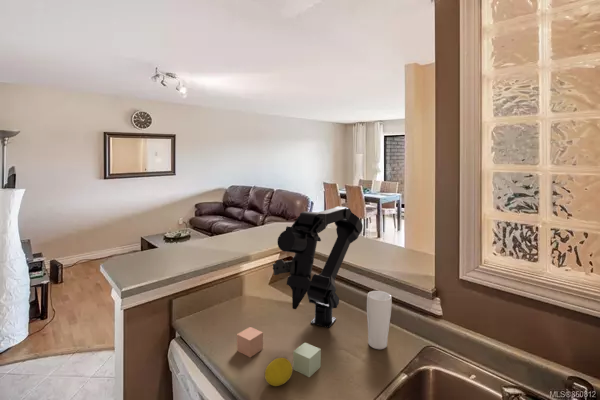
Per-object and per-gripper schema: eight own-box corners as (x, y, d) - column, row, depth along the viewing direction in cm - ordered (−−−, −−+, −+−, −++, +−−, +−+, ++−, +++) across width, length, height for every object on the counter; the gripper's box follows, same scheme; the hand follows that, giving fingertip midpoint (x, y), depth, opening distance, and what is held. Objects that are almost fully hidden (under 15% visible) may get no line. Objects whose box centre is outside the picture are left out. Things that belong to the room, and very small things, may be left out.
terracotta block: (250, 342, 93) (250, 326, 92) (262, 349, 90) (262, 332, 89) (237, 351, 89) (237, 334, 88) (250, 357, 86) (249, 340, 85)
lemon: (279, 361, 81) (255, 377, 75) (287, 347, 79) (263, 362, 73) (293, 379, 79) (270, 397, 73) (302, 365, 76) (278, 383, 70)
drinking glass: (391, 341, 93) (393, 292, 92) (387, 354, 87) (389, 302, 86) (368, 336, 96) (370, 288, 94) (362, 348, 90) (364, 297, 88)
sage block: (304, 359, 85) (304, 342, 84) (320, 367, 82) (320, 349, 81) (293, 369, 81) (293, 351, 80) (309, 377, 78) (309, 358, 77)
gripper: (280, 248, 103) (270, 297, 101) (274, 249, 84) (261, 309, 82) (314, 255, 102) (305, 305, 100) (315, 258, 84) (304, 318, 82)
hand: (294, 308), depth 91 cm, fingers closed
